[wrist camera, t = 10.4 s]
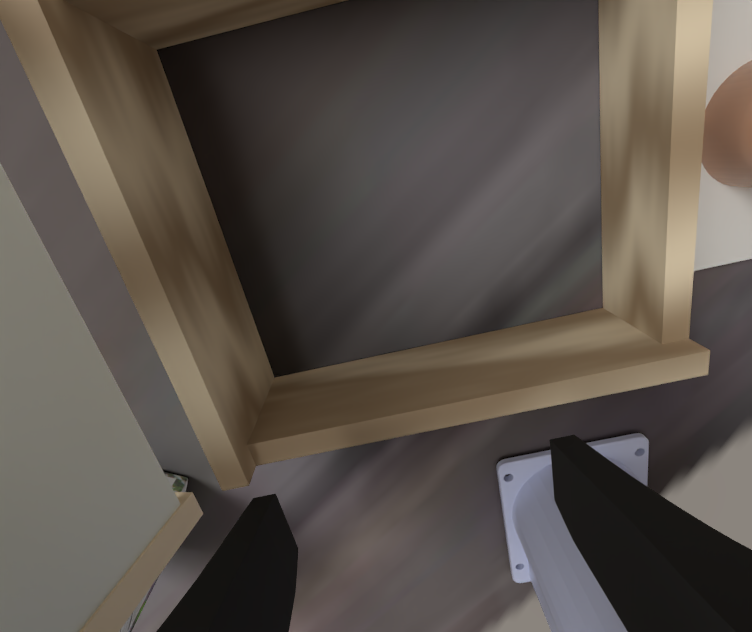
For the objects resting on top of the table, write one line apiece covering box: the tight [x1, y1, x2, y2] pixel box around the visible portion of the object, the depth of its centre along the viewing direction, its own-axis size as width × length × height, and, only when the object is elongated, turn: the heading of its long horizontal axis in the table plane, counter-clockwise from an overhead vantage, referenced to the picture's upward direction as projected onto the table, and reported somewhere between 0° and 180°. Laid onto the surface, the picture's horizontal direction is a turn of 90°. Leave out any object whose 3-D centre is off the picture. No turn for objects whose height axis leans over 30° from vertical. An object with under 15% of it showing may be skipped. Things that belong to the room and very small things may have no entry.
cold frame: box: [0, 0, 713, 491], centre depth 14 cm, size 16×18×6 cm
